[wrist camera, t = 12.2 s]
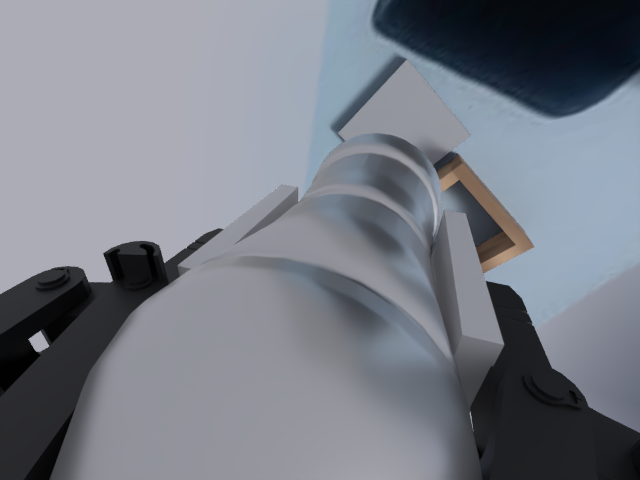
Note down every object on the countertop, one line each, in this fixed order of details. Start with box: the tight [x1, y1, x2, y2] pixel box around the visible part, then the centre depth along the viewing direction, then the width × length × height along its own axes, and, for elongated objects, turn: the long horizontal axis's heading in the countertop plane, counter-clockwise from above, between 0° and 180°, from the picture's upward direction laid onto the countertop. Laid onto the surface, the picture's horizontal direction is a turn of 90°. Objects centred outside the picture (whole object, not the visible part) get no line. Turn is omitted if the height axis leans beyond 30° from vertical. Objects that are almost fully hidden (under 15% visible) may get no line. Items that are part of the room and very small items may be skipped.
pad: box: [338, 59, 471, 165], centre depth 33 cm, size 10×10×1 cm
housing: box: [436, 154, 534, 273], centre depth 38 cm, size 23×12×4 cm, turn 138°
